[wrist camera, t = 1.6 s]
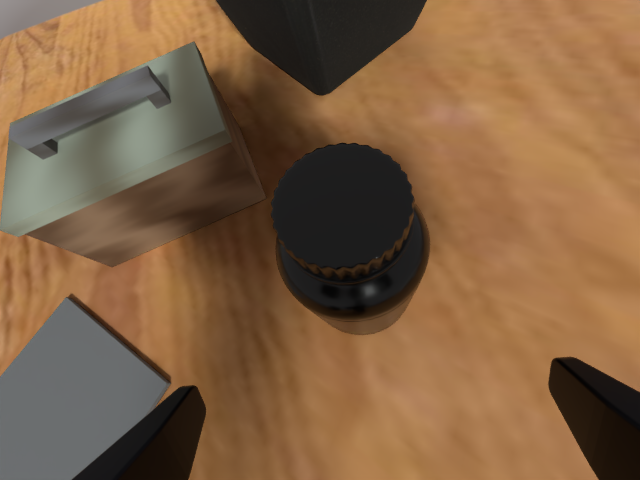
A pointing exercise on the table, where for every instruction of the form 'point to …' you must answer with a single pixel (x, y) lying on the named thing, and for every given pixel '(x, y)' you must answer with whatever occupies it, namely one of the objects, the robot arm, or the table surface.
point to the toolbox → (129, 163)
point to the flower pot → (322, 34)
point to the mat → (70, 397)
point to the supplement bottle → (350, 237)
